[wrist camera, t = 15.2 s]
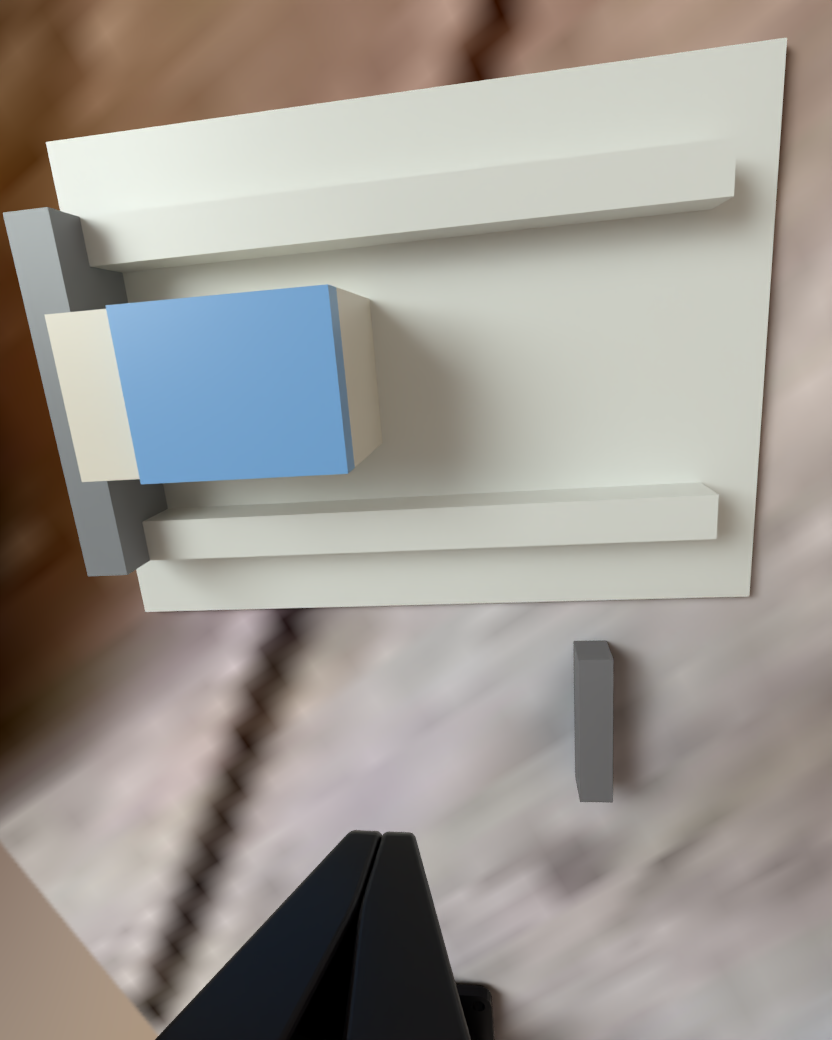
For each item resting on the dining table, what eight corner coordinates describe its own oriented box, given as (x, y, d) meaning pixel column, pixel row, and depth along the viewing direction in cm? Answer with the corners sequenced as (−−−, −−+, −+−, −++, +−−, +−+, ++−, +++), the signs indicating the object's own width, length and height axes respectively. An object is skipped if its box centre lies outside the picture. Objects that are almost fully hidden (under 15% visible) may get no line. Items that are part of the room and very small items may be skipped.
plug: (382, 442, 18) (348, 473, 14) (159, 455, 19) (63, 488, 15) (369, 298, 17) (327, 283, 13) (134, 320, 18) (22, 313, 14)
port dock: (745, 592, 18) (791, 638, 16) (150, 608, 21) (96, 650, 18) (781, 43, 15) (850, -29, 12) (53, 145, 17) (-34, 106, 14)
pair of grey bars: (936, 781, 19) (965, 808, 18) (575, 776, 21) (580, 802, 20) (962, 634, 18) (993, 654, 17) (573, 641, 20) (578, 659, 18)
